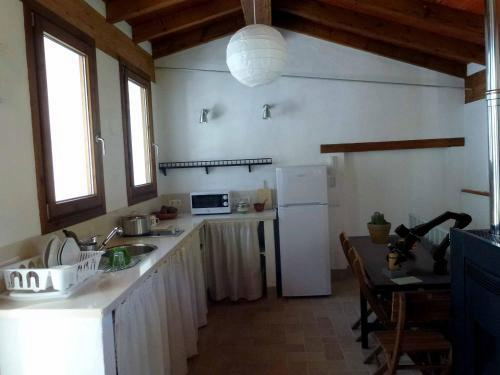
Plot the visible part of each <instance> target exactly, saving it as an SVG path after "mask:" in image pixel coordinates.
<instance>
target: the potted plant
mask: <svg viewBox="0 0 500 375" xmlns="http://www.w3.org/2000/svg"><path fill="white" fill-rule="evenodd" d="M370 219H371V221H369V222H367V223H366V226H367V230H368V234H369V236H370V239H371V243H373V244H376V245H383V244H387V243H388V240H389V238H390V237H389V236H390V233H391V229H392V223H391V222H390V221H387V219H386V218H385V214H384V213H381V212H379V211H375V212H374V213H373V214H372V215H371V216H370Z"/></svg>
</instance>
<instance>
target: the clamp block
mask: <svg viewBox="0 0 500 375" xmlns="http://www.w3.org/2000/svg"><path fill="white" fill-rule="evenodd" d="M381 269H382V270H381V274H382V275H384V276H386V277H387V278H389V279H397V278H404V277H408V275H407V270H406V269H404V268H403V267H402V268H400V267H399V271H393V272H392V271H390V270H389V266H388V267H386V266H385V267H382V268H381Z"/></svg>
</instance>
